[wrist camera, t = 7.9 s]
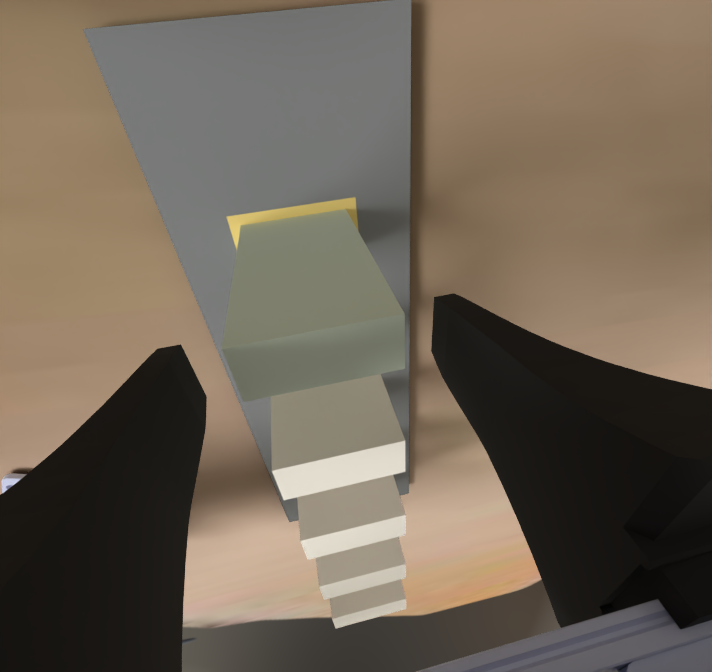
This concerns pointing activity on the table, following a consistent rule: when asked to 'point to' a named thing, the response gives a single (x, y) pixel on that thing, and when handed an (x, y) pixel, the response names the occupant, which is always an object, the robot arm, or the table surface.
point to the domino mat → (272, 144)
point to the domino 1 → (308, 308)
